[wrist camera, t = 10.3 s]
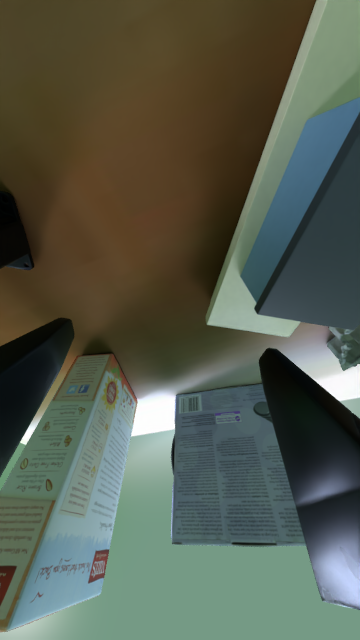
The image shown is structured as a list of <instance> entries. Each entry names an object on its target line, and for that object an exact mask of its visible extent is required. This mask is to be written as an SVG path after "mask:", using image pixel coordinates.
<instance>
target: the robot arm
mask: <svg viewBox="0 0 360 640" xmlns="http://www.w3.org/2000/svg"><path fill="white" fill-rule="evenodd" d="M5 197H6V198H7V199H8V202H7V201H6V200H5ZM26 263H27V264H28V265H29V266H28V265H27V264H26ZM5 266H7V267H13V268H18V269H24V270H31V269H32V268H34V262H33V259H32V256H31V251H30V248H29V244H28V241H27V238H26V234H25V231H24V227H23V225H22V222H21V219H20V216H19V212H18V209H17V206H16V202H15V200H14V197H13V196H12V195H11V194H10V193H8V192H5V191H0V269H1V268H3V267H5ZM73 339H74V329H73V324H72V321H71V319H67V318H58V319H56V320H54V321H52V322H50V323H48V324H46V325H44V326H41V327H39V328H37V329H35V330H33V331H31V332H29V333H27V334H25V335H23V336H21V337H19V338H17V339H15V340H13V341H11V342H8V343H6V344H4V345H2V346H0V477H1V475H2V473H3V471H4V469H5V468H6V466H7V464H8V462H9V460H10V459H11V457H12V455H13V454H14V452H15V450H16V448H17V446H18V445H19V443H20V441H21V439H22V438H23V436H24V434H25V432H26V430H27V429H28V427H29V425H30V423H31V421H32V420H33V418H34V416H35V414H36V413H37V411H38V409H39V407H40V405H41V404H42V402H43V400H44V398H45V397H46V395H47V393H48V391H49V389H50V388H51V386H52V384H53V382H54V381H55V379H56V377H57V375H58V373H59V371H60V370H61V367H62V365H63V363H64V360H65V358H66V356H67V353H68V351H69V348H70V346H71V344H72V341H73ZM259 367H260V373H261V379H262V385H263V390H264V394H265V398H266V402H267V406H268V409H269V413H270V416H271V420H272V424H273V427H274V431H275V434H276V438H277V442H278V445H279V449H280V452H281V456H282V460H283V463H284V467H285V470H286V474H287V478H288V481H289V485H290V488H291V492H292V496H293V499H294V503H295V505H296V511H297V514H298V518H299V521H300V525H301V529H302V532H303V536H304V539H305V543H306V547H307V550H308V554H309V557H310V561H311V564H312V568H313V572H314V575H315V579H316V583H317V586H318V589H319V593H320V595H321V598H322V601H324V602H328V603H332V604H336V605H341V606H345V607H350V608H353V609H358V610H360V418H358V417H357V416H356V415H354V414H353V413H352V412H351V411H350V410H349V409H348V408H346V407H345V406H344V405H343V404H342V403H340V402H339V401H338V400H337V399H336V398H334V397H333V396H332V395H331V394H330V393H329V392H327V391H326V390H325V389H324V388H323V387H321V386H320V385H319V384H318V383H317V382H315V381H314V380H313V379H312V378H311V377H309V376H308V375H307V374H306V373H305V372H304V371H302V370H301V369H300V368H299V367H298V366H296V365H295V364H294V363H293V362H292V361H290V360H289V359H288V358H287V357H286V356H284V355H283V354H282V353H281V352H280V351H279V350H277V349H274V348H267V349H266V350H265V352H264V353H263V354H262V356H261V357H260V359H259Z"/></svg>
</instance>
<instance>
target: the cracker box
mask: <svg viewBox="0 0 360 640" xmlns="http://www.w3.org/2000/svg"><path fill="white" fill-rule="evenodd" d="M136 407H137V399H136V397H135V395H134V393H133V392H132V390H131V388H130V386H129V384H128V382H127V380H126V378H125V376H124V374H123V372H122V370H121V368H120V366H119V365H118V362H117V361H116V359H115V357H114V355H113V354H98V355H84V356H77V357H76V359H75V360H74V362H73V364H72V366H71V367H70V369H69V371H68V372H67V374H66V376H65V378H64V380H63V381H62V383H61V385H60V386H59V388H58V390H57V392H56V394H55V395H54V397H53V399H52V401H51V402H50V404H49V406H48V408H47V409H46V411H45V413H44V415H43V416H42V418H41V420H40V422H39V423H38V425H37V427H36V429H35V431H34V432H33V434H32V436H31V438H30V439H29V441H28V443H27V445H26V446H25V448H24V450H23V452H22V454H21V456H20V457H19V459H18V461H17V462H16V464H15V466H14V468H13V469H12V471H11V473H10V475H9V476H8V478H7V480H6V482H5V483H4V485H3V487H2V489H1V491H0V632H8V631H10V630H13V629H16V628H18V627H21V626H24V625H26V624H29V623H31V622H33V621H36V620H39V619H41V618H43V617H46V616H49V615H51V614H54V613H56V612H58V611H61V610H63V609H66V608H68V607H70V606H73V605H75V604H78V603H81V602H83V601H86V600H88V599H91V598H93V597H96V596H98V595H100V593H101V590H102V585H103V580H104V575H105V569H106V564H107V559H108V554H109V548H110V543H111V538H112V532H113V527H114V522H115V516H116V511H117V506H118V501H119V495H120V490H121V484H122V479H123V474H124V469H125V464H126V459H127V453H128V448H129V443H130V438H131V433H132V428H133V422H134V417H135V412H136Z"/></svg>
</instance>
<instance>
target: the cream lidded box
mask: <svg viewBox="0 0 360 640" xmlns="http://www.w3.org/2000/svg"><path fill="white" fill-rule="evenodd" d="M358 97H360V0H316V3H315V6H314V9H313V12H312V14H311V17H310V20H309V23H308V26H307V29H306V31H305V34H304V37H303V40H302V43H301V46H300V48H299V51H298V54H297V57H296V60H295V63H294V65H293V68H292V71H291V74H290V77H289V80H288V82H287V85H286V88H285V91H284V94H283V97H282V99H281V102H280V105H279V108H278V111H277V114H276V116H275V119H274V122H273V125H272V128H271V131H270V133H269V136H268V139H267V142H266V145H265V148H264V150H263V153H262V156H261V159H260V162H259V165H258V167H257V170H256V173H255V176H254V179H253V182H252V185H251V187H250V190H249V193H248V196H247V199H246V202H245V204H244V207H243V210H242V213H241V216H240V219H239V221H238V224H237V227H236V230H235V233H234V236H233V238H232V241H231V244H230V247H229V250H228V253H227V255H226V258H225V261H224V264H223V267H222V270H221V272H220V275H219V278H218V281H217V284H216V287H215V289H214V292H213V295H212V298H211V303H210V306H209V309H208V312H207V314H206V317H205V318H206V323H207V325H212V326H219V327H225V328H232V329H238V330H245V331H251V332H258V333H264V334H271V335H277V336H284V337H289V336H290V335H291V334H292V332H293V331H294V330H295V329H296V327H297V326H298V325H299V323H300V321H294V320H287V319H281V318H275V317H269V316H263V315H258V314H257V313H256V311H255V310H254V307H255V305H256V302H255V300H254V298H253V297H252V295H251V293H250V292H249V290H248V288H247V287H246V285H245V283H244V282H243V280H242V278H241V277H240V275H241V273H242V271H243V268H244V266H245V264H246V261H247V259H248V257H249V254H250V252H251V250H252V247H253V245H254V243H255V240H256V238H257V236H258V233H259V231H260V229H261V226H262V224H263V222H264V219H265V217H266V215H267V212H268V210H269V207H270V205H271V203H272V200H273V198H274V196H275V193H276V191H277V189H278V186H279V184H280V182H281V179H282V177H283V175H284V172H285V170H286V168H287V165H288V163H289V161H290V158H291V156H292V154H293V151H294V149H295V147H296V144H297V142H298V140H299V137H300V135H301V133H302V130H303V128H304V126H305V123H306V121H307V120H308V119H310V118H312V117H315V116H317V115H319V114H322V113H324V112H326V111H328V110H331V109H333V108H335V107H338V106H340V105H342V104H345V103H347V102H349V101H351V100H354V99H356V98H358Z"/></svg>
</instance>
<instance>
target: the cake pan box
mask: <svg viewBox="0 0 360 640" xmlns="http://www.w3.org/2000/svg"><path fill="white" fill-rule="evenodd" d="M171 460H172V461H171V462H172V470H173V475H174V482H173V495H172V523H171V539H172V544H175V545H216V546H218V545H219V546H243V547H244V546H245V547H248V546H249V547H271V546H306V543H305V539H304V536H303V532H302V529H301V525H300V521H299V518H298V514H297V511H296V505H295V503H294V499H293V496H292V492H291V488H290V485H289V481H288V478H287V474H286V470H285V467H284V463H283V460H282V456H281V452H280V449H279V445H278V442H277V438H276V434H275V431H274V427H273V424H272V420H271V416H270V413H269V409H268V406H267V402H266V398H265V394H264V390H263V385H262V384H258V385H250V386H243V387H229V388H221V389H214V390H212V391H205V392H198V393H191V394H183V395H182V394H180V395H176V399H175V435H174V438H173V443H172V451H171Z"/></svg>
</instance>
